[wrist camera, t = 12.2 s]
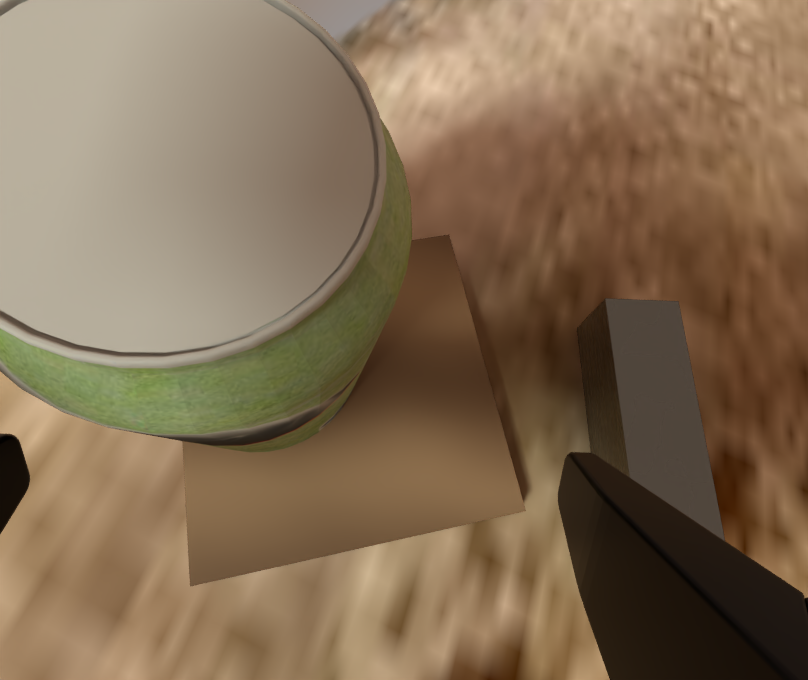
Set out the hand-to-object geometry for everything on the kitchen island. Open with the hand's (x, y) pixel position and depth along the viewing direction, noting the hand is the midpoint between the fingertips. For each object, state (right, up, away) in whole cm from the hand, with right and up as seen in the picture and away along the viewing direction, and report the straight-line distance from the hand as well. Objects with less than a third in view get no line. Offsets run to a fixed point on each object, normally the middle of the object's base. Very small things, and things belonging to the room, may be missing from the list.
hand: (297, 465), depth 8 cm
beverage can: (-2, +1, +8) cm, 9 cm away
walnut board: (0, 0, +9) cm, 9 cm away
